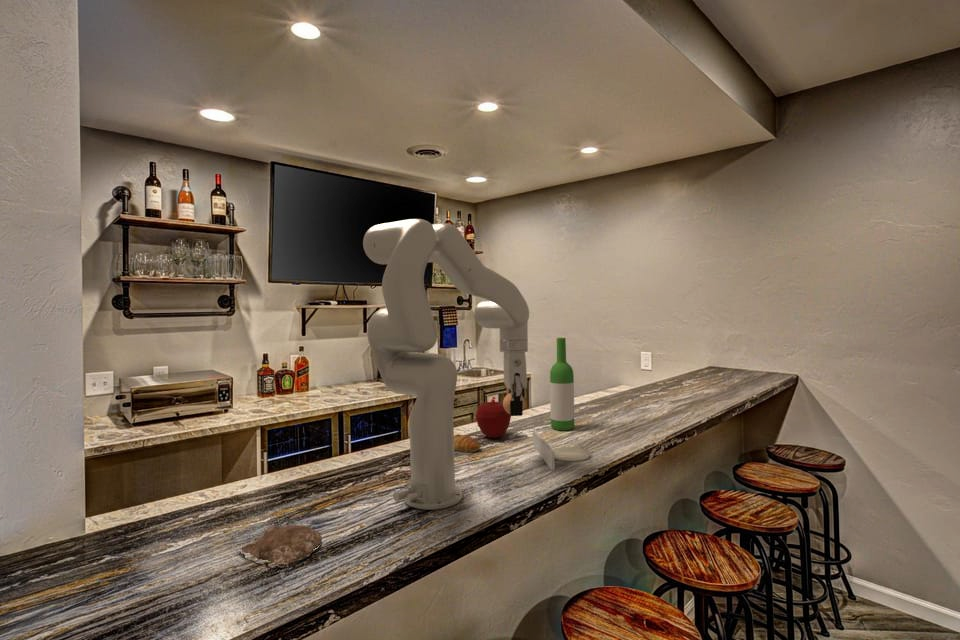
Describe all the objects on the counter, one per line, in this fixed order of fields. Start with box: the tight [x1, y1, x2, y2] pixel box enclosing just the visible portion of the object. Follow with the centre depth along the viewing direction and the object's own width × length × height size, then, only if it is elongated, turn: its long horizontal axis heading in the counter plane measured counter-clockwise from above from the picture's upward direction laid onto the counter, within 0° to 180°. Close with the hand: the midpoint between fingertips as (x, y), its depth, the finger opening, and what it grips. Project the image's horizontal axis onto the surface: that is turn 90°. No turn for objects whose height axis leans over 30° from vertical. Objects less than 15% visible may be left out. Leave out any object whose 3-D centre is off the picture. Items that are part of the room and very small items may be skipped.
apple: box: [475, 400, 512, 439], centre depth 155 cm, size 11×11×12 cm
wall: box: [532, 429, 556, 471], centre depth 135 cm, size 22×1×4 cm, turn 6°
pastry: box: [454, 433, 481, 453], centre depth 144 cm, size 9×7×4 cm
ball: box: [502, 392, 526, 414], centre depth 134 cm, size 6×6×6 cm
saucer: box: [551, 446, 591, 463], centre depth 136 cm, size 11×11×1 cm
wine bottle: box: [549, 337, 575, 431], centre depth 164 cm, size 8×8×30 cm
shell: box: [240, 524, 323, 565], centre depth 87 cm, size 12×13×4 cm
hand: (514, 412), depth 134 cm, fingers closed on ball, 5 cm apart
